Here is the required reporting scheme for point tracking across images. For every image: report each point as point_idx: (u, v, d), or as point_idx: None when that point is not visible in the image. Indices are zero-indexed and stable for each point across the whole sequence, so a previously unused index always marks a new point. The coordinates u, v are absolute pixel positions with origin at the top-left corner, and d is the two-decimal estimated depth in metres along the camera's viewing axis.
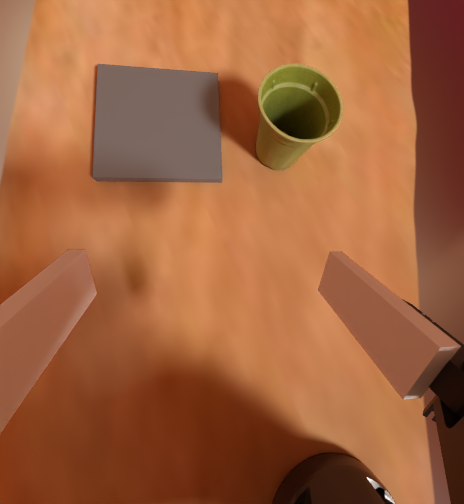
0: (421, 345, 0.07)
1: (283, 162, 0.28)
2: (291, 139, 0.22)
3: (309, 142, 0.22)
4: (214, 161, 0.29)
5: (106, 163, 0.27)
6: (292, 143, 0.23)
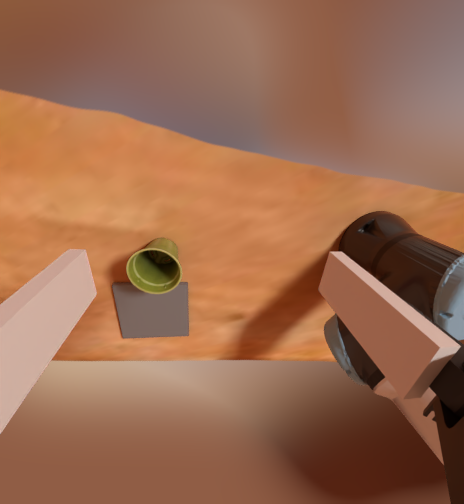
0: (421, 345, 0.07)
1: None
2: (180, 279, 0.39)
3: (181, 270, 0.38)
4: (176, 288, 0.49)
5: (181, 331, 0.55)
6: (179, 274, 0.40)
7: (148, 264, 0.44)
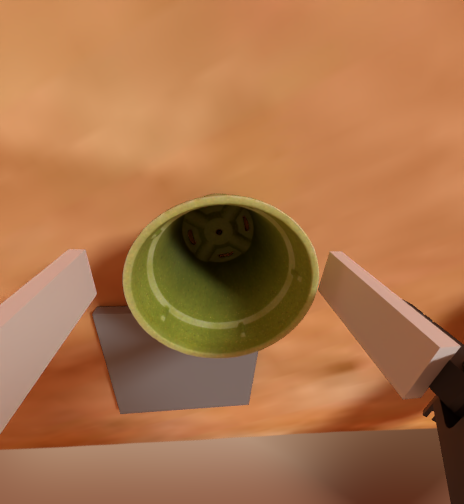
0: (421, 345, 0.07)
1: None
2: (304, 314, 0.12)
3: None
4: None
5: (235, 398, 0.28)
6: (295, 295, 0.12)
7: (185, 265, 0.17)
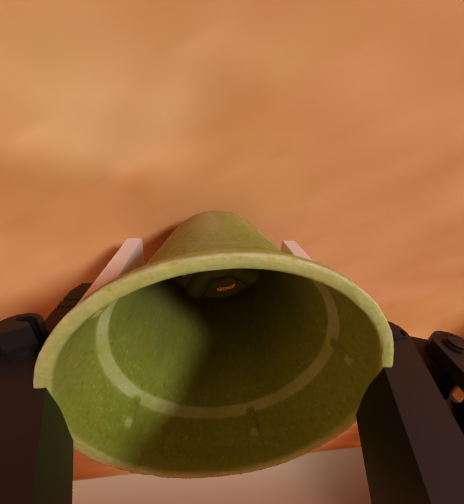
0: None
1: None
2: None
3: None
4: None
5: None
6: (337, 379, 0.08)
7: (170, 309, 0.12)
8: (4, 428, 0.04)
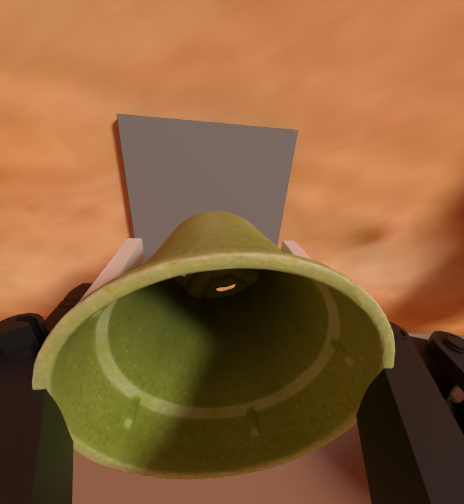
0: None
1: None
2: None
3: None
4: (271, 139, 0.20)
5: None
6: (337, 379, 0.08)
7: (170, 309, 0.12)
8: (4, 428, 0.04)
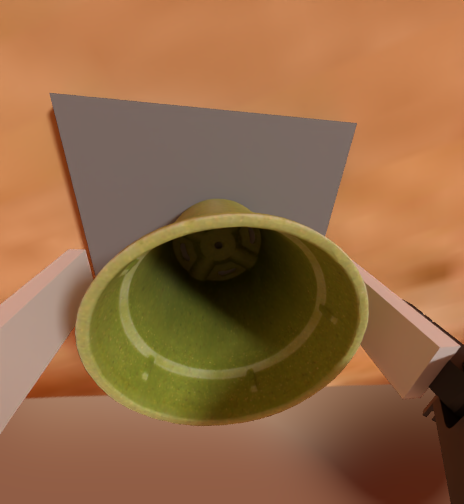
0: (421, 345, 0.07)
1: None
2: (341, 369, 0.09)
3: (361, 332, 0.08)
4: (312, 138, 0.13)
5: None
6: (325, 339, 0.09)
7: (176, 288, 0.13)
8: None
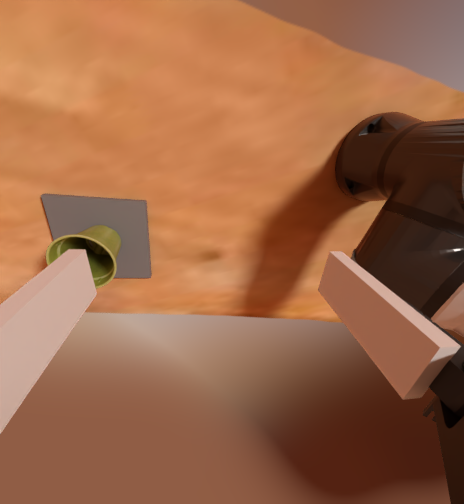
0: (421, 345, 0.07)
1: (118, 248, 0.38)
2: (115, 272, 0.34)
3: (115, 261, 0.33)
4: (130, 206, 0.38)
5: (140, 271, 0.44)
6: None
7: None
8: None
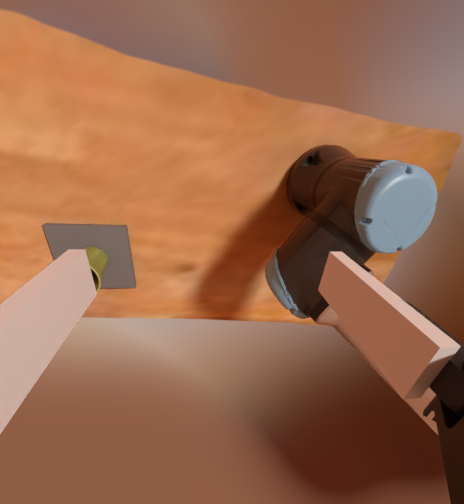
0: (421, 345, 0.07)
1: (105, 264, 0.47)
2: (100, 286, 0.42)
3: (99, 277, 0.41)
4: (113, 230, 0.46)
5: (126, 282, 0.52)
6: None
7: None
8: None
